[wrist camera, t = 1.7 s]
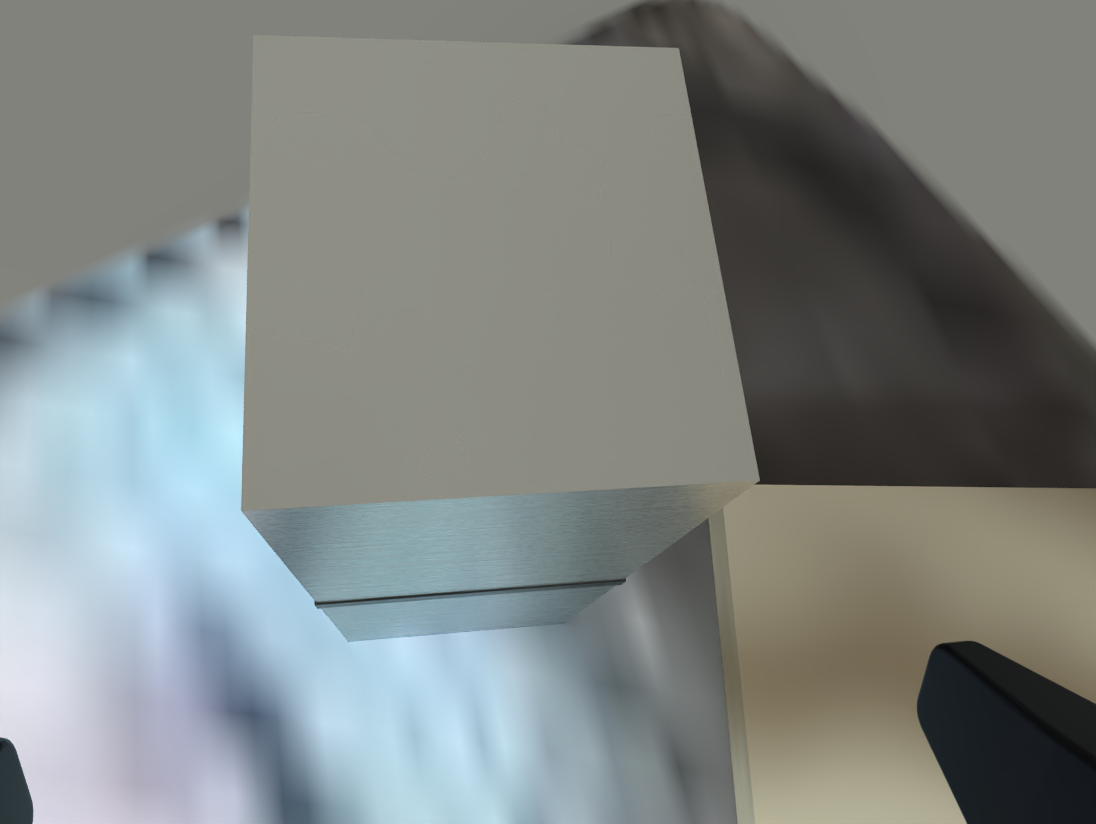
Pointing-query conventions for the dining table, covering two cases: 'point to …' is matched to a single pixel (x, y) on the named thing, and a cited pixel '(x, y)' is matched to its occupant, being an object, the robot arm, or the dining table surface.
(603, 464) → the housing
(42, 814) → the dining table surface
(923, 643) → the stand
